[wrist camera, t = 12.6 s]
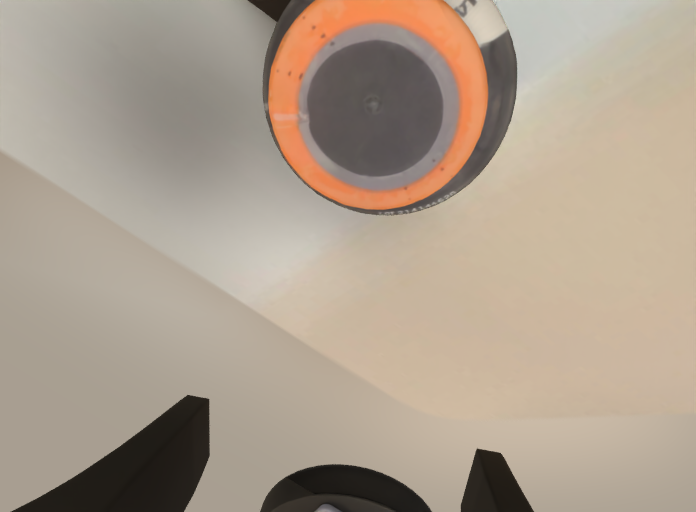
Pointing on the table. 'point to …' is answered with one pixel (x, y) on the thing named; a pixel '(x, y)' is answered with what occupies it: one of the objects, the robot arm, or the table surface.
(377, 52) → the pill bottle
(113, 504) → the robot arm
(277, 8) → the strip
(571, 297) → the table surface
